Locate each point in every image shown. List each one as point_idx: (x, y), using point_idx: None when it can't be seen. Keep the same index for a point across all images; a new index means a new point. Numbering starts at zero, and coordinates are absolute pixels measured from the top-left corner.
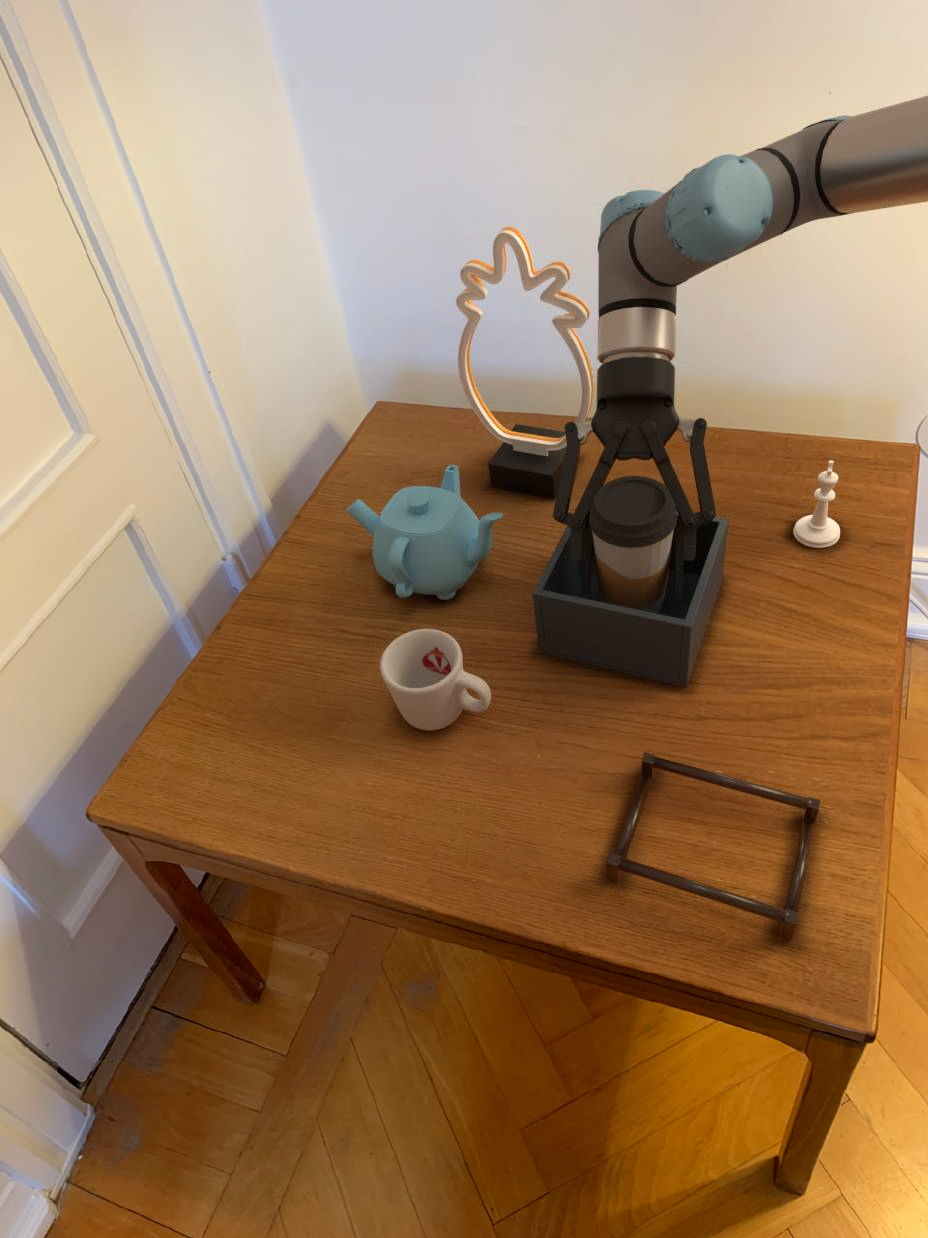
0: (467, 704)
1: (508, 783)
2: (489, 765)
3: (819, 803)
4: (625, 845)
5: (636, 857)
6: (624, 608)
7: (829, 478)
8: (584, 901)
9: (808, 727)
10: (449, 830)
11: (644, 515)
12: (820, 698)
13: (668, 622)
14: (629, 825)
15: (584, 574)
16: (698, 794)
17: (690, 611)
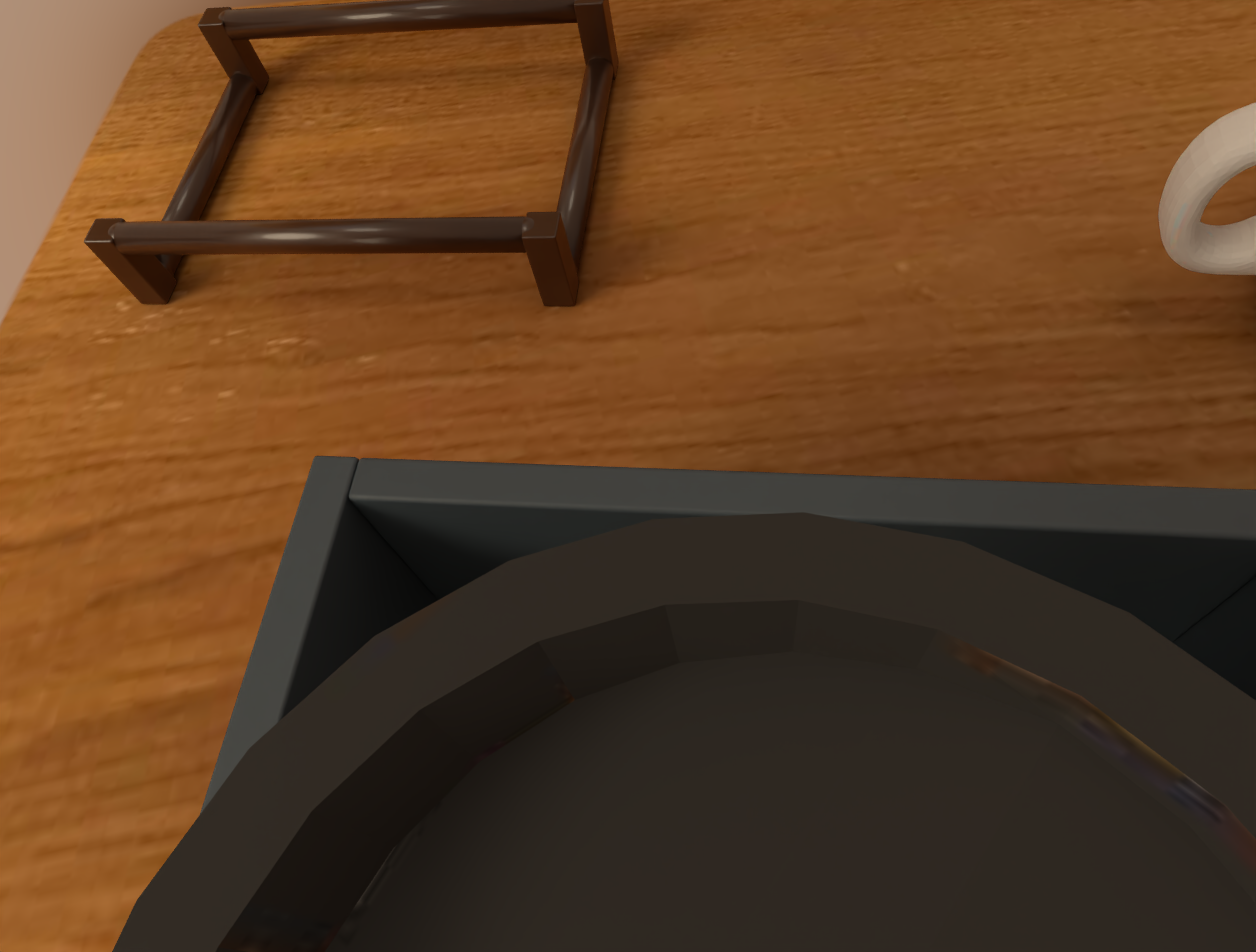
0: (1247, 220)
1: (952, 174)
2: (1040, 203)
3: (89, 231)
4: (583, 97)
5: (561, 117)
6: (693, 500)
7: None
8: (656, 18)
9: (85, 564)
10: (1042, 39)
11: (521, 949)
12: (13, 692)
13: (433, 461)
14: (582, 135)
15: None
16: (422, 285)
17: (312, 560)
